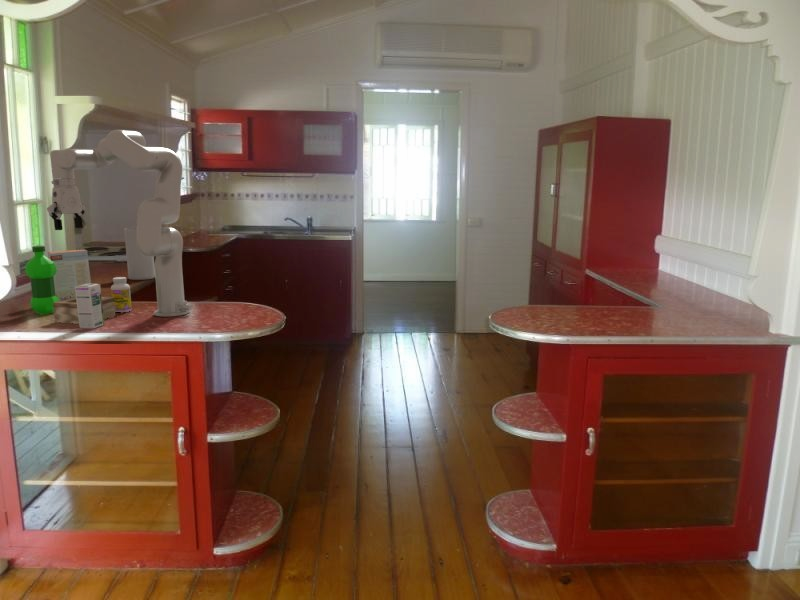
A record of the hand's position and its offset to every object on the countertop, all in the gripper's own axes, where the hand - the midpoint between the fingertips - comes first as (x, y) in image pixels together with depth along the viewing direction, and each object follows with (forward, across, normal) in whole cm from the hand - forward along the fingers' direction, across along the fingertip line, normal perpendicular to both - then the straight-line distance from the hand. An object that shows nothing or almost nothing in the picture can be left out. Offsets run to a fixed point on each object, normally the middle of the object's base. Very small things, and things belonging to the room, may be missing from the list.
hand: (69, 228), depth 262 cm
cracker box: (+31, +10, +12) cm, 35 cm away
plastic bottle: (+31, -11, +4) cm, 33 cm away
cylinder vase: (+31, +69, +28) cm, 81 cm away
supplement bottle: (+31, -1, -23) cm, 39 cm away
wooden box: (+31, -16, -20) cm, 40 cm away
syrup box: (+31, -25, -32) cm, 51 cm away
